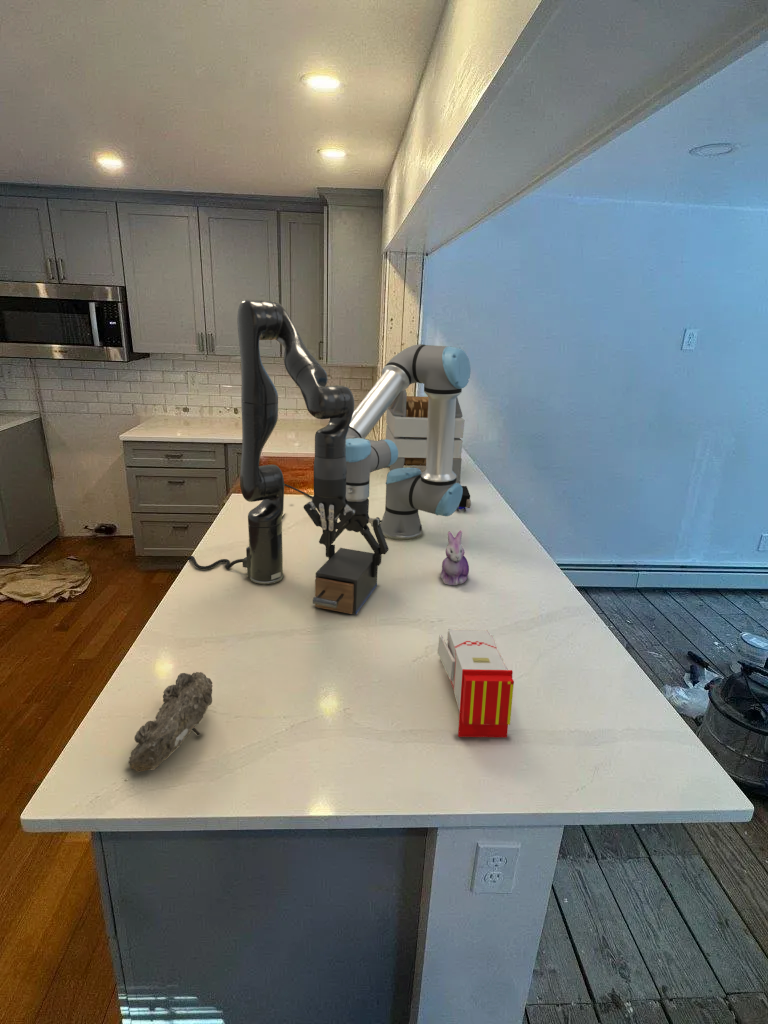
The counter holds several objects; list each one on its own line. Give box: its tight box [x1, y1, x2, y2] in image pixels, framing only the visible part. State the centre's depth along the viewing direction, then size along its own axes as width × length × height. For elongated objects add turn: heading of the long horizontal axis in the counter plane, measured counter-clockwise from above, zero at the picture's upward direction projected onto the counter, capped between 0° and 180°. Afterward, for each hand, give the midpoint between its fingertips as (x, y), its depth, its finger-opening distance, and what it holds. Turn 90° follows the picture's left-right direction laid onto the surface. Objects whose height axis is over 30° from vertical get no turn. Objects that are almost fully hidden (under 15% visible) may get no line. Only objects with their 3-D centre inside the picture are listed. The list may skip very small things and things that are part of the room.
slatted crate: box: [384, 389, 465, 484], centre depth 268 cm, size 34×33×41 cm
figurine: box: [440, 530, 470, 586], centre depth 165 cm, size 9×10×15 cm
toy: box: [437, 628, 515, 738], centre depth 117 cm, size 12×13×30 cm
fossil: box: [128, 671, 213, 773], centre depth 102 cm, size 22×10×15 cm
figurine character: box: [456, 485, 472, 513], centre depth 228 cm, size 7×8×15 cm
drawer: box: [312, 577, 354, 615], centre depth 149 cm, size 22×10×8 cm, turn 163°
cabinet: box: [315, 547, 378, 616], centre depth 154 cm, size 18×11×10 cm, turn 163°
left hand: (329, 543), depth 136 cm, fingers closed
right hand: (352, 571), depth 157 cm, fingers open, 12 cm apart
